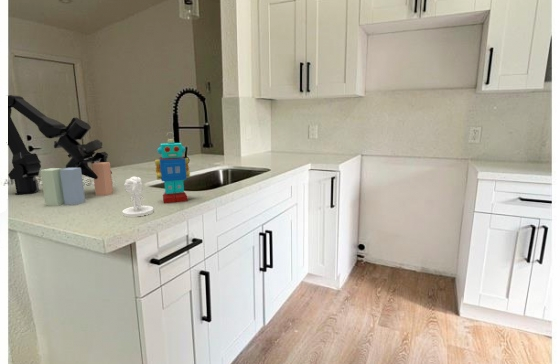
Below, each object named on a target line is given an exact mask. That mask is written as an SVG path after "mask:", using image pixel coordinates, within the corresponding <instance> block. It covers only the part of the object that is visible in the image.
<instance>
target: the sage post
mask: <svg viewBox="0 0 560 364" xmlns="http://www.w3.org/2000/svg"><path fill="white" fill-rule="evenodd" d="M61 169H63V168H61V167H60V168H58V167H57V168H56V167H51V168H45V169H40V170H39V173H40V179H41V185H42V191H43V196H44V197H43V198H44V203H45V204H44V205H45V206H54V207H55V206H56V207H58V206H60V205H63V204H64V205H65V202H64V195H63V188H62V182H61V175H60V170H61Z"/></svg>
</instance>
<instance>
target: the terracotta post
mask: <svg viewBox="0 0 560 364" xmlns="http://www.w3.org/2000/svg"><path fill="white" fill-rule="evenodd" d="M91 170H92V171H93V172H94V173H95V174H96V175H97V176H98V178H97V179H94V178H93V186H94V191H95V192H94V193H95V196H109V195H112V194H114V188H113V187H114V186H113V177H112V174H111V172H112V169H111V163H110V162H109V161H108V162H98V163H94V164H92V163H91Z"/></svg>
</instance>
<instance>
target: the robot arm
mask: <svg viewBox="0 0 560 364" xmlns="http://www.w3.org/2000/svg"><path fill="white" fill-rule="evenodd" d="M7 96H8V144H7V146H8V148H9V150H10V152H11V154H12V159H11V164H12V166H13V168H12V169H11V171H10V172H9V173H8V177H9V179H10V180H12V181H14V186H15V191H16V192H15V193H14V195H25V194H26V195H27V194H35V193H36V192H38V191H39V190H40V186H39V181H38V179H37V178H36V177H37V176H38V177H39V175H40V174H39V173H40V170H41V168H42V165H41V163H42V161H41V160H40V159H39V157H38V154H37V153H31V152H30V151H29V150H28V147H26V145H25V142H24V141H23V139H22V137H21V135H20V133H19V131H18V129H17V126H16V125H15V123H14V121H13V119H12V117H11V115H12V108H13V109H14V110H16V111H17V112H18V113H20V114H21V115H23V116H24V117H25V118H27V119H28V120H29V121H31V122H32V123H33V124H35V126H37V128H38V130H39V131H38V132H40V133H41V134H42V135H43V136H44V137H45V138H47V139H57V140H54V142H53V143H54V144H53V148H54V149H60V148H62V149H63V150H64V151H65V152H66V153H67V154H68V155H67V156H68V158H70V159H69V161H68V162H67V163H66V164H65V168H81V172H82V176H85V177H87V178H91V179H93V180H94V179H97V178H98V176H97V175H96V174H95V173H94V172H93V169H92V168H91V167H90V166H89V165H88V164H91V165H92V164H94V163H98V162H107V159H108V156H109V154H108V153H107V152H106V151H98V150H100V149H102V148H103V142H102V141H100V140H99V139H94V140H91V141H89V142H86V143H85V144H81V142H79V140H80V141H81V140H83V138H85V136H86V135H87V134H88V132H90V130H91V128H92V127H91V125H90V124H89V123H88V122H86V121H84V120H82V119H80V118H79V117H73V118H71V121H70V122H69V123H68V124H67V126H66V125H65V124H64V123H62V122H60V121H59V120H56V119H53V118H50V117H48V116H47V115H45V114H44V113H43V112H41V111H40V110H38V108H36V107H35V106H33V105H32V104H31V103H29V102H28V101H27V100H25V99H24V97H23V96H21V95H15V94H9V95H7ZM95 151H98V152H95ZM112 174H113V172H112V171H111V175H112Z"/></svg>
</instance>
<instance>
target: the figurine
mask: <svg viewBox="0 0 560 364" xmlns="http://www.w3.org/2000/svg"><path fill="white" fill-rule="evenodd" d="M124 182H125V183H124V184H123V186H124V188H125V191H126V192H127V193H129V194H131V196H130V197H131V198H130V199H131V200H130V202H131V203H132V204H133V205H132V206H130V207H127V208H124V209H123V210H122V216H123V215H124V216H123V217H125V216H127V217H126V218H138V217H137V216H141V217H145V216H144V215H146V216H149V215H152V214H153V213H154V207H153V206H151V205H142V200H143V201H145V198H144V196H142V194H143V192H144V186H143V183H142V182H143V181H142V178H141V177H139V176H131V177H130V178H128V179H127V178H126V179H125V181H124ZM148 214H149V215H148Z"/></svg>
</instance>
